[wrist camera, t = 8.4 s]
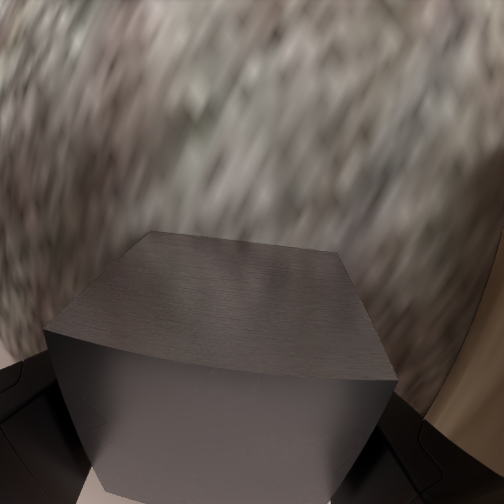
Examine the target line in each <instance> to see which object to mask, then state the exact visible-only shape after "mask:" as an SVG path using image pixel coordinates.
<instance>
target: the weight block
mask: <svg viewBox="0 0 504 504" xmlns="http://www.w3.org/2000/svg"><path fill="white" fill-rule="evenodd" d="M43 332H44V336H45V339H46V343H47V347H48V351H49V354H50V358H51V361H52V364H53V368H54V371H55V374H56V377H57V380H58V383H59V386H60V389H61V392H62V395H63V398H64V401H65V403H66V406H67V409H68V411H69V414H70V417H71V419H72V422H73V424H74V427H75V429H76V431H77V434H78V436H79V438H80V441H81V443H82V445H83V447H84V450H85V452H86V454H87V456H88V458H89V460H90V462H91V465H92V467H93V469H94V470H95V472H96V474H97V476H98V478H99V480H100V482H101V484H102V486H103V488H104V490H105V491H106V492H109V493H112V494H115V495H118V496H121V497H125V498H128V499H132V500H135V501H139V502H142V503H146V504H327V503H328V502H329V500H330V499H331V497H332V496H333V494H334V493H335V492H336V490H337V489H338V487H339V486H340V484H341V483H342V481H343V480H344V478H345V477H346V475H347V473H348V472H349V470H350V469H351V467H352V466H353V464H354V462H355V461H356V459H357V457H358V456H359V454H360V453H361V451H362V449H363V447H364V446H365V444H366V442H367V441H368V439H369V437H370V435H371V433H372V432H373V430H374V428H375V426H376V424H377V422H378V421H379V419H380V417H381V415H382V413H383V411H384V409H385V407H386V405H387V403H388V401H389V399H390V397H391V395H392V393H393V391H394V389H395V387H396V385H397V383H398V378H397V375H396V373H395V371H394V369H393V366H392V364H391V362H390V360H389V357H388V355H387V353H386V351H385V349H384V347H383V344H382V342H381V340H380V338H379V336H378V334H377V332H376V330H375V327H374V325H373V323H372V321H371V319H370V317H369V315H368V313H367V311H366V309H365V307H364V305H363V303H362V301H361V299H360V297H359V295H358V293H357V291H356V289H355V287H354V285H353V283H352V281H351V279H350V277H349V275H348V273H347V271H346V269H345V268H344V266H343V264H342V262H341V260H340V258H339V256H338V254H337V253H332V252H324V251H316V250H308V249H300V248H291V247H283V246H275V245H267V244H259V243H250V242H242V241H234V240H225V239H217V238H208V237H200V236H191V235H182V234H174V233H165V232H156V231H151V232H150V233H149V234H148V235H146V236H145V237H144V238H143V239H142V240H140V241H139V242H138V243H137V244H136V245H134V246H133V247H132V248H131V249H130V250H128V251H127V252H126V253H125V254H124V255H123V256H121V257H120V258H119V259H118V260H117V261H116V262H115V263H113V264H112V265H111V266H110V267H109V268H108V269H107V270H105V271H104V272H103V273H102V274H101V275H100V276H99V277H97V278H96V279H95V280H94V281H93V282H92V283H91V284H90V285H89V286H88V287H86V288H85V289H84V290H83V291H82V292H81V293H80V294H79V295H78V296H77V297H76V298H74V299H73V300H72V301H71V302H70V303H69V304H68V305H67V306H66V307H65V308H64V309H63V310H62V311H61V312H60V313H59V314H57V315H56V316H55V317H54V318H53V319H52V320H51V321H50V322H49V323H48V324H47V325H46V326H45V327H44V328H43Z"/></svg>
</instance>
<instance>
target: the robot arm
mask: <svg viewBox="0 0 504 504" xmlns="http://www.w3.org/2000/svg"><path fill="white" fill-rule="evenodd" d="M91 467H92V465H91V462H90V460H89V458H88V456H87V454H86V452H85V450H84V447H83V445H82V443H81V441H80V438H79V436H78V434H77V431H76V429H75V427H74V424H73V422H72V419H71V417H70V414H69V411H68V409H67V406H66V403H65V401H64V398H63V395H62V392H61V389H60V386H59V383H58V380H57V377H56V374H55V371H54V368H53V364H52V361H51V358H50V354H49V351H48V350H46V351H43V352H41V353H39V354H36V355H34V356H32V357H29V358H27V359H25V360H24V362H23V361H20V362H18V363H15V364H13V365H11V366H8V367H6V368H3V369H1V370H0V504H76V502H77V500H78V497H79V495H80V492H81V490H82V488H83V485H84V483H85V481H86V478H87V476H88V474H89V471H90V469H91ZM330 500H331V504H504V477H503V476H501V475H499V474H497V473H496V472H494V471H493V470H491V469H490V468H488V467H487V466H486V465H484V464H483V463H481V462H480V461H478V460H477V459H476V458H474V457H473V456H471V455H470V454H468V453H467V452H466V451H464V450H463V449H461V448H460V447H459V446H457V445H456V444H455V443H453V442H452V441H451V440H449V439H448V438H447V437H446V436H445V435H443V434H442V433H441V432H440V431H439V430H437V429H436V428H435V427H434V426H433V425H432V424H430V423H429V422H428V421H427V420H426V419H424V420H423V417H422V416H421V415H420V414H419V413H418V412H417V411H416V410H414V409H413V408H412V407H411V406H410V405H409V404H408V403H407V402H405V401H404V400H403V399H402V398H401V397H400V396H399V395H398V394H396V393H395V392H394V391H393V393H392V395H391V397H390V399H389V401H388V403H387V405H386V407H385V409H384V411H383V413H382V415H381V417H380V419H379V421H378V422H377V424H376V426H375V428H374V430H373V432H372V433H371V435H370V437H369V439H368V441H367V442H366V444H365V446H364V447H363V449H362V451H361V453H360V454H359V456H358V457H357V459H356V461H355V462H354V464H353V466H352V467H351V469H350V470H349V472H348V473H347V475H346V477H345V478H344V480H343V481H342V483H341V484H340V486H339V487H338V489H337V490H336V492H335V493H334V494H333V496H332V497H331V499H330Z"/></svg>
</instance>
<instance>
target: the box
mask: <svg viewBox="0 0 504 504" xmlns="http://www.w3.org/2000/svg"><path fill="white" fill-rule="evenodd" d="M424 419H426V420H427V421H428V422H429V423H430V424H432V425H433V426H434V427H435V428H436V429H437V430H439V431H440V432H441V433H442V434H443V435H445V436H446V437H447V438H448V439H449V440H451V441H452V442H453V443H455V444H456V445H457V446H459V447H460V448H461V449H463V450H464V451H466V452H467V453H468V454H470V455H471V456H473V457H474V458H476V459H477V460H478V461H480V462H481V463H483V464H484V465H486V466H487V467H488V468H490V469H491V470H493V471H494V472H496V473H497V474H499V475H501V476H503V477H504V227H503V231H502V235H501V239H500V243H499V246H498V250H497V253H496V257H495V260H494V264H493V267H492V270H491V273H490V276H489V279H488V282H487V285H486V288H485V291H484V294H483V296H482V299H481V302H480V304H479V307H478V310H477V312H476V315H475V317H474V320H473V322H472V325H471V327H470V329H469V332H468V334H467V336H466V339H465V341H464V343H463V345H462V348H461V350H460V352H459V354H458V356H457V358H456V360H455V362H454V364H453V366H452V368H451V370H450V372H449V374H448V376H447V378H446V380H445V382H444V384H443V386H442V388H441V389H440V391H439V393H438V395H437V397H436V398H435V400H434V402H433V404H432V405H431V407H430V409H429V410H428V412H427V414H426V415H425V417H424ZM424 419H423V420H424Z"/></svg>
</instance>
